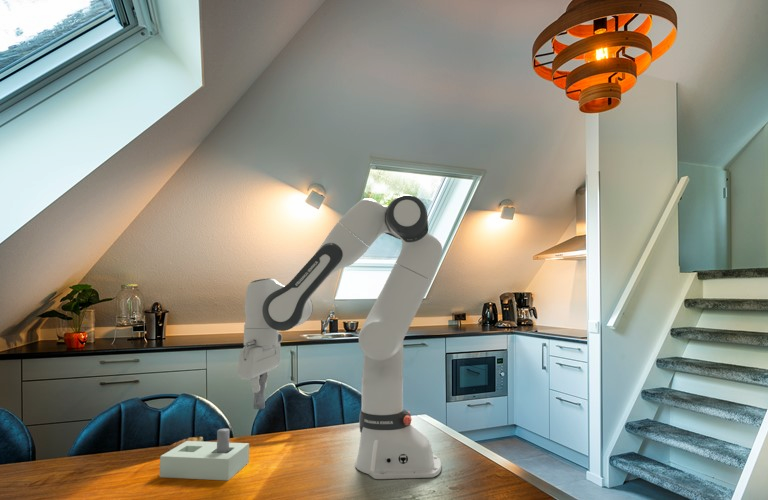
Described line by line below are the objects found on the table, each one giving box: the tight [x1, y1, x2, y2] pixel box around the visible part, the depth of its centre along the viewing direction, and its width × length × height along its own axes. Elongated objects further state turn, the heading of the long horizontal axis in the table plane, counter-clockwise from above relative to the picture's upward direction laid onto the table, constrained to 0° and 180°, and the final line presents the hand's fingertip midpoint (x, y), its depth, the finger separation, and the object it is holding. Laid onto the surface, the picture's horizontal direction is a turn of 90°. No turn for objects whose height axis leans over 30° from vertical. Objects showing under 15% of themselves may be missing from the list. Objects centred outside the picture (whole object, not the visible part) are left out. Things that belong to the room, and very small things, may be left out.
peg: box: [252, 373, 266, 410], centre depth 125 cm, size 3×3×10 cm
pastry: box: [167, 436, 204, 451], centre depth 134 cm, size 9×7×4 cm
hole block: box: [159, 428, 250, 481], centre depth 120 cm, size 18×12×10 cm, turn 83°
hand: (259, 390), depth 125 cm, fingers closed on peg, 3 cm apart
